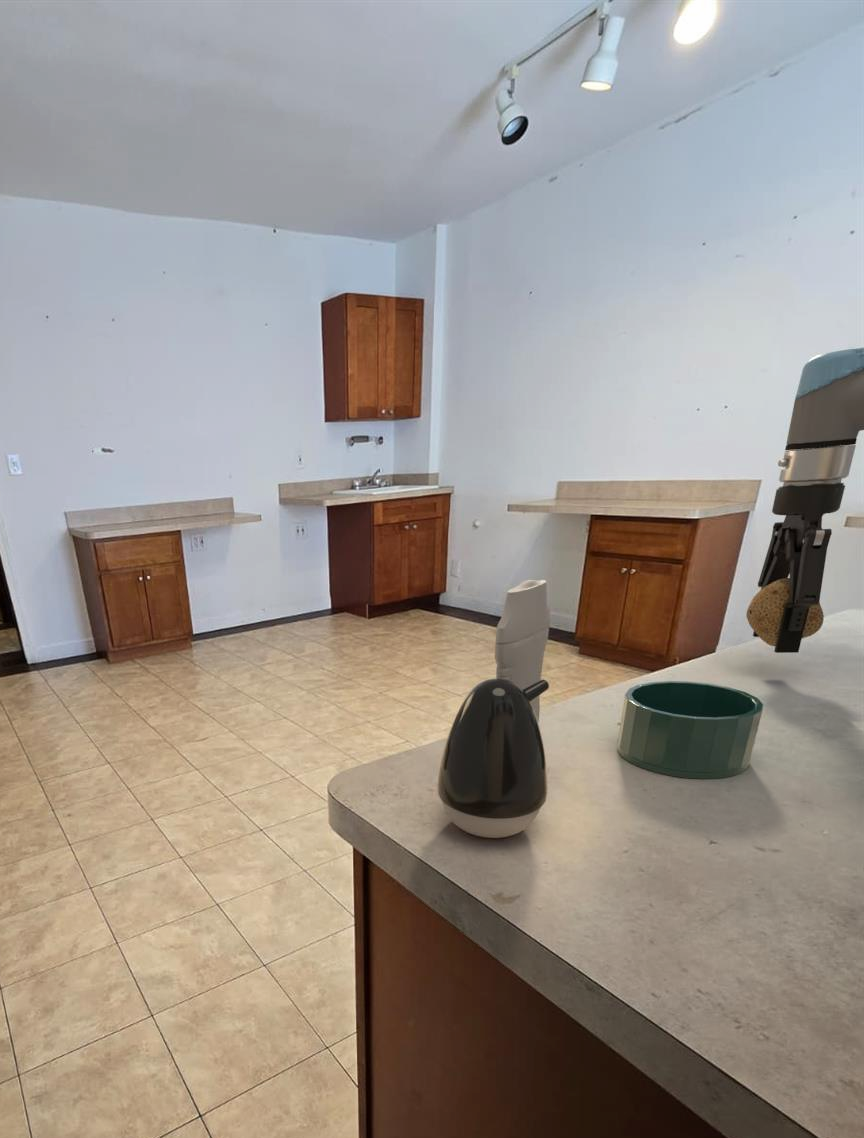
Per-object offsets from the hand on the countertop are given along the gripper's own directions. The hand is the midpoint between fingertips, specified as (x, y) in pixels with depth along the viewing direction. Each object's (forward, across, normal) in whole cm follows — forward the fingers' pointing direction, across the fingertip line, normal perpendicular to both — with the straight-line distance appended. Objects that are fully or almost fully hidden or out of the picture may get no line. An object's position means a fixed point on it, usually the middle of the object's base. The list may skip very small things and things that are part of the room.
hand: (774, 643), depth 97 cm
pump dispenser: (+5, +55, -40) cm, 68 cm away
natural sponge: (0, 0, 0) cm, 1 cm away
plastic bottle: (+5, +43, -38) cm, 57 cm away
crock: (+5, +34, -18) cm, 39 cm away
